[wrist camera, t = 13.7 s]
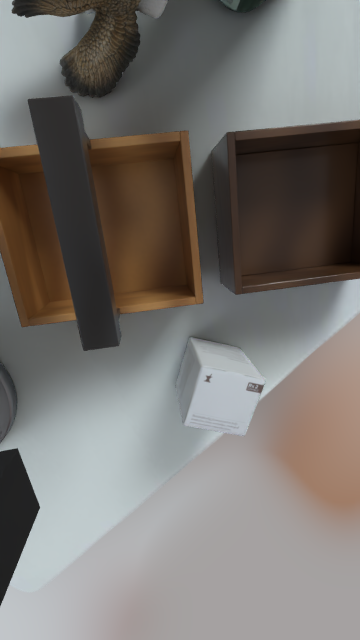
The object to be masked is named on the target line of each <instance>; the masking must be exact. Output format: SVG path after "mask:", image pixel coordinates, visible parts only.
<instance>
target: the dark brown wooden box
mask: <svg viewBox="0 0 360 640" xmlns="http://www.w3.org/2000/svg"><path fill="white" fill-rule="evenodd" d="M212 165H213V180H214V194H215V209H216V223H217V238H218V252H219V267H220V281H221V284H222V285H224V286H225V287H226V288H228V289H229V290H230V291H232V292H233V293H234V294H235V295H237V294H245V293H253V292H260V291H268V290H276V289H283V288H291V287H299V286H306V285H314V284H322V283H329V282H337V281H345V280H352V279H360V120H351V121H341V122H330V123H320V124H309V125H299V126H289V127H278V128H268V129H257V130H247V131H236V132H227V133H226V134H225V135H224V137H223V138H222V139H221V140H220V142H219V143H218V144H217V145H216V146H215V148H214V149H213V150H212Z"/></svg>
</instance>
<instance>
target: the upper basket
mask: <svg viewBox="0 0 360 640" xmlns="http://www.w3.org/2000/svg"><path fill="white" fill-rule="evenodd" d="M28 104H29V109H30V113H31V118H32V122H33V127H34V131H35V136H36V140H37V145H27V146H16V147H5V148H0V252H1V255H2V259H3V262H4V266H5V269H6V273H7V276H8V280H9V284H10V287H11V291H12V294H13V298H14V301H15V305H16V308H17V312H18V315H19V319H20V322H21V326H22V327H28V326H35V325H43V324H50V323H58V322H65V321H73V320H77V324H78V328H79V333H80V337H81V342H82V346H83V350H84V351H87V350H94V349H101V348H108V347H115V346H119V344H120V340H121V331H120V325H119V318H120V314H126V313H134V312H141V311H149V310H156V309H164V308H172V307H179V306H187V305H194V304H202V303H203V292H202V281H201V269H200V258H199V247H198V235H197V224H196V213H195V201H194V190H193V178H192V167H191V156H190V144H189V133H188V131H187V130H186V131H180V132H179V131H175V132H165V133H154V134H144V135H133V136H122V137H112V138H101V139H89V137H88V136H87V134H86V133H85V129H84V124H83V118H82V113H81V109H80V107H79V105H78V103H77V102H76V100H75V98H74V96H72V95H71V96H59V97H47V98H35V99H28Z"/></svg>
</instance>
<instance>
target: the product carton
mask: <svg viewBox="0 0 360 640" xmlns="http://www.w3.org/2000/svg"><path fill="white" fill-rule="evenodd" d="M265 382H266V379H265V378H264V377H263V376H262V375H261V373H260V372H259V371H258V370H257V368H256V367H255V366H254V365H253V363H252V362H251V361H250V360H249V359H248V357H247V356H246V355H245V354H244V352H243V351H242V350H241V348H238V347H234V346H230V345H225V344H221V343H216V342H212V341H207V340H202V339H198V338H193V337H190V338H189V340H188V343H187V347H186V351H185V354H184V358H183V361H182V365H181V368H180V371H179V375H178V378H177V382H176V385H175V387H176V392H177V396H178V401H179V406H180V411H181V416H182V421H183V425H184V426H189V427H195V428H200V429H206V430H212V431H217V432H223V433H229V434H234V435H240V436H244V435H245V434H246V431H247V429H248V427H249V423H250V421H251V418H252V416H253V413H254V410H255V408H256V405H257V403H258V400H259V398H260V395H261V392H262V390H263V387H264V385H265Z"/></svg>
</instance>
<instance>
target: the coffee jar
mask: <svg viewBox="0 0 360 640" xmlns="http://www.w3.org/2000/svg"><path fill="white" fill-rule="evenodd" d="M219 1H220V2H221V3H223V4H224V5H225V6H226V7H227V8H229V9H231V10H233V11H236V12H248V11H251V10H253V9H255V8H256V7H258V6H259V5H260V4H262V3H263V2H264V1H266V0H219Z"/></svg>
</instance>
